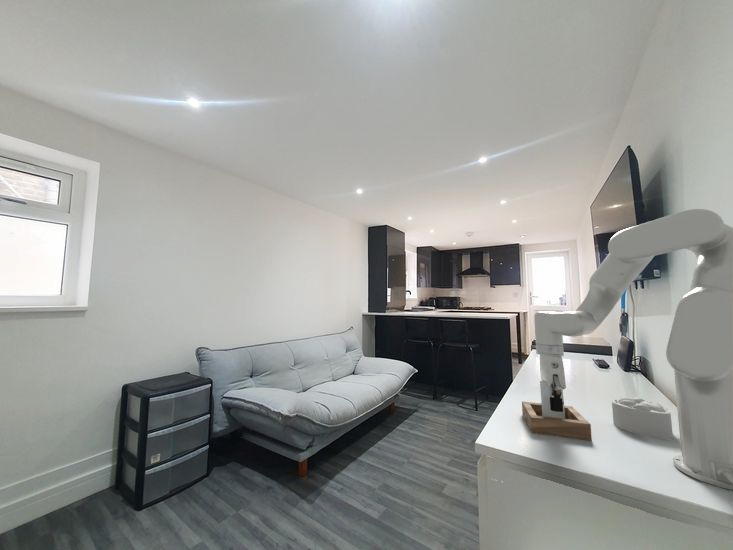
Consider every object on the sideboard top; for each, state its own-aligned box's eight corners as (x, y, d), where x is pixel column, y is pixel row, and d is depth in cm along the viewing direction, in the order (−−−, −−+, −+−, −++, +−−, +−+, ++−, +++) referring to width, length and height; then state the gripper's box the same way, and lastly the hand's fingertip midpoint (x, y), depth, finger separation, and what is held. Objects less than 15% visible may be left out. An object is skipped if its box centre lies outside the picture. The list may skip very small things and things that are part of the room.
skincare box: (557, 425, 87) (554, 384, 88) (541, 420, 91) (539, 381, 92) (566, 420, 91) (563, 381, 92) (550, 416, 94) (548, 378, 96)
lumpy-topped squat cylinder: (675, 442, 81) (672, 410, 82) (614, 429, 89) (612, 400, 90) (667, 429, 89) (664, 400, 90) (612, 419, 97) (610, 392, 98)
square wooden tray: (591, 440, 81) (590, 424, 82) (531, 432, 86) (531, 417, 87) (573, 420, 95) (572, 406, 96) (522, 414, 100) (521, 401, 101)
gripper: (572, 354, 84) (577, 418, 82) (555, 346, 100) (558, 399, 98) (543, 353, 86) (546, 415, 84) (530, 345, 102) (533, 397, 101)
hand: (553, 406), depth 91 cm, fingers closed on skincare box, 7 cm apart
